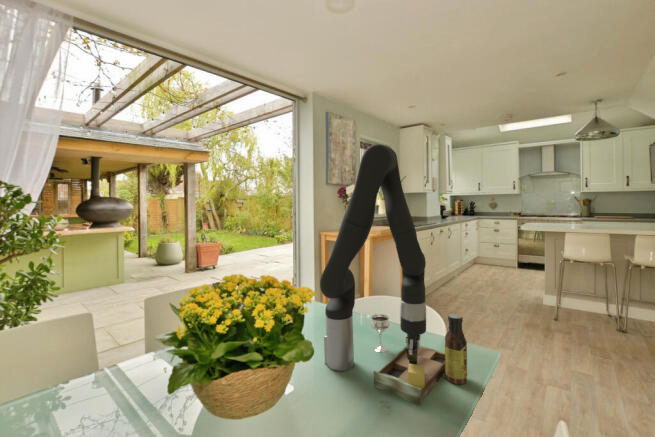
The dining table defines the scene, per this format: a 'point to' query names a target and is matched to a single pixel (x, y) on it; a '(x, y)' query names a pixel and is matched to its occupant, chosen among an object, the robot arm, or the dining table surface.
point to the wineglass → (380, 328)
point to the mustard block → (416, 375)
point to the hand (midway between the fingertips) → (413, 369)
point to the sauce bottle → (455, 351)
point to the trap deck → (396, 375)
